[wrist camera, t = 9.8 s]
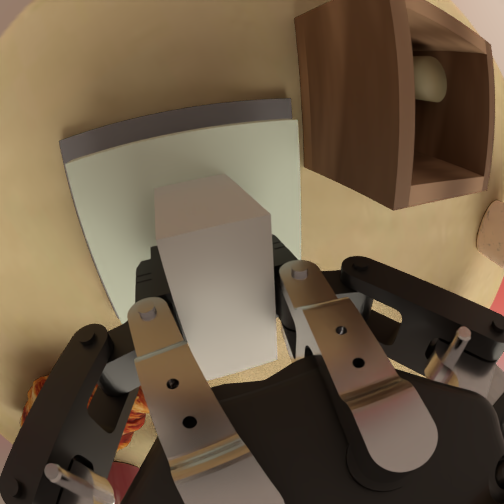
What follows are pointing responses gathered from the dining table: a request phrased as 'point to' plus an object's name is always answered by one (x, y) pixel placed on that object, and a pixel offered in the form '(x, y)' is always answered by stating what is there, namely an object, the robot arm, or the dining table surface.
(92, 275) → the dining table surface
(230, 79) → the dining table surface
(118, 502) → the plant pot
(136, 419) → the croissant
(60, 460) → the robot arm
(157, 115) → the rubber pad
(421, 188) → the walnut box
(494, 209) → the teacup with lid
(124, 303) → the lid
